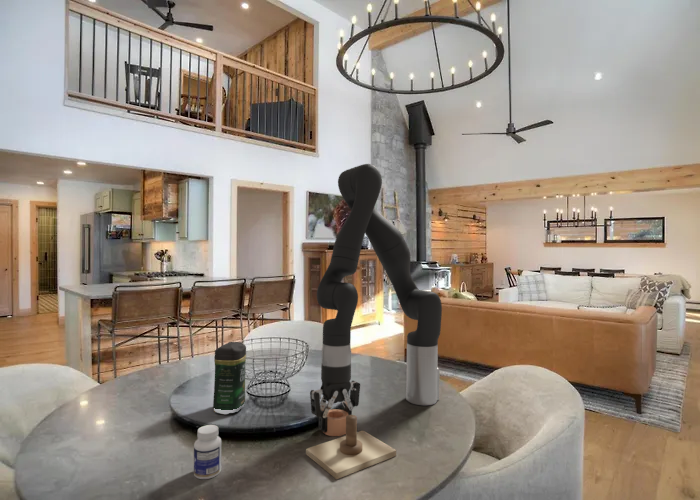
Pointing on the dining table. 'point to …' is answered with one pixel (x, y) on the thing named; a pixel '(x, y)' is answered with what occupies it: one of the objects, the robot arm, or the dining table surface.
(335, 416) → the ring
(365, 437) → the base board
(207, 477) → the pill bottle
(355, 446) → the post
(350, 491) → the dining table surface
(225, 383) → the coffee jar
